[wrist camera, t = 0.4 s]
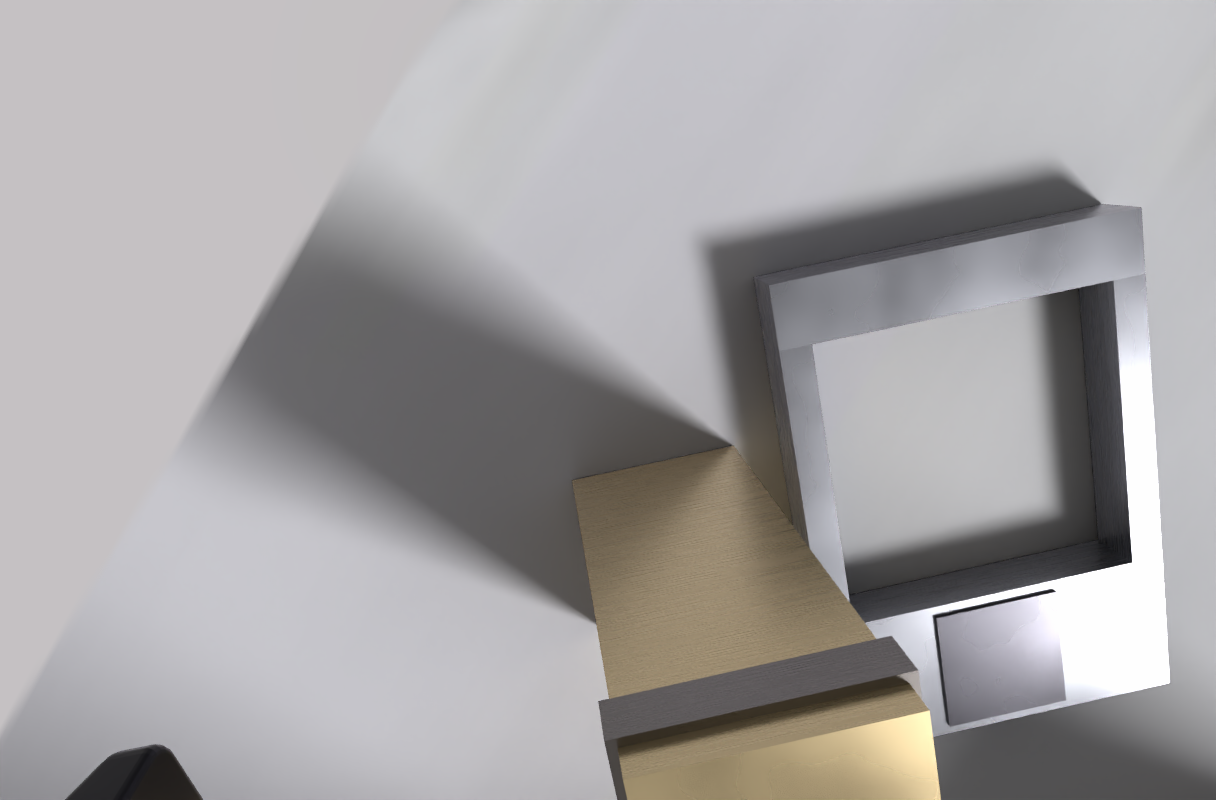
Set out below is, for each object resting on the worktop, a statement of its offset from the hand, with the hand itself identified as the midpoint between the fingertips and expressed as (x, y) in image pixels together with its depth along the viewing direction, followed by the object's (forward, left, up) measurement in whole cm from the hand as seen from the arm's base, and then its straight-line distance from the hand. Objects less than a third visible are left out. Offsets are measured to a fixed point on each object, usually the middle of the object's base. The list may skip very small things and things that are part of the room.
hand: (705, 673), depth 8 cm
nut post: (-4, -4, -16) cm, 17 cm away
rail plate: (+1, -9, -16) cm, 18 cm away
